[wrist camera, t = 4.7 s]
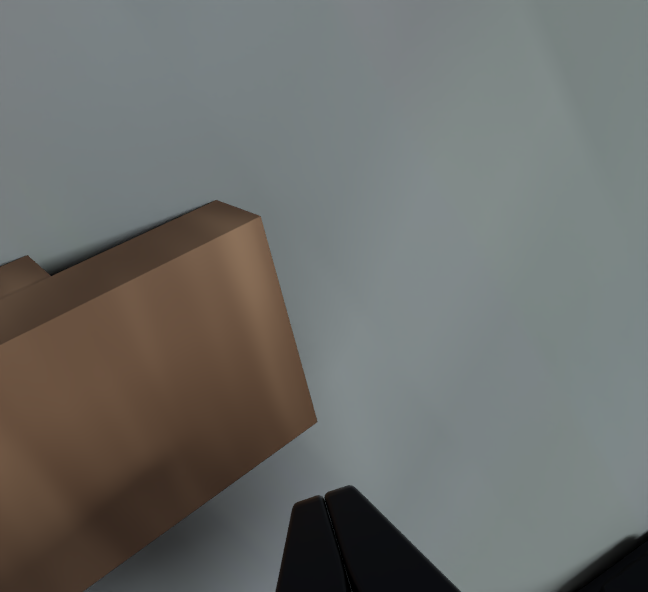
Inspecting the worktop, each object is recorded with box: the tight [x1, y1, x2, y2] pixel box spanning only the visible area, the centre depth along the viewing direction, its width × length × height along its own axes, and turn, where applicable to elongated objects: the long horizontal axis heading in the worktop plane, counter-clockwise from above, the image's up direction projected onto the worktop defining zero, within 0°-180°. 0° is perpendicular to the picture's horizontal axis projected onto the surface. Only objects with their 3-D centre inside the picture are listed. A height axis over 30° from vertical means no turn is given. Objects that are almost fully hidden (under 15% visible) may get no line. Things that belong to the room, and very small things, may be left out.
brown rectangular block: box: [0, 200, 317, 592], centre depth 11 cm, size 2×5×10 cm
